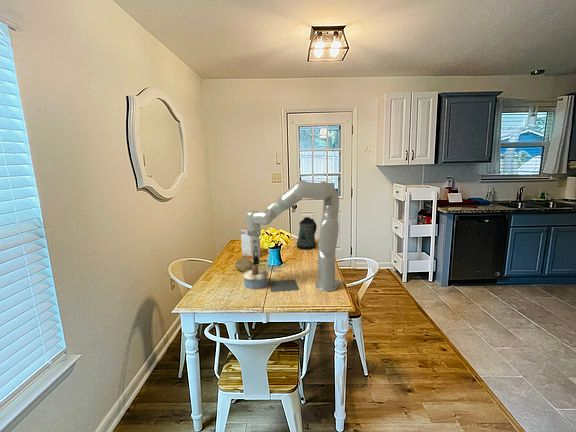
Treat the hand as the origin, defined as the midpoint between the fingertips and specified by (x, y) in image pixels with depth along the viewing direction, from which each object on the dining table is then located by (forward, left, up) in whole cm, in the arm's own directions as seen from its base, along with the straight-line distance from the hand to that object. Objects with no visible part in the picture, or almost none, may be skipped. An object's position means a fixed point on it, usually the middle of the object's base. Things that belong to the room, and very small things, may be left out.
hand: (255, 261), depth 181 cm
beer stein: (-45, -76, -15) cm, 90 cm away
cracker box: (+2, -57, -15) cm, 59 cm away
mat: (-15, +4, -14) cm, 21 cm away
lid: (+1, 0, -8) cm, 8 cm away
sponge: (+7, -30, -15) cm, 34 cm away
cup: (+1, 0, -14) cm, 14 cm away
